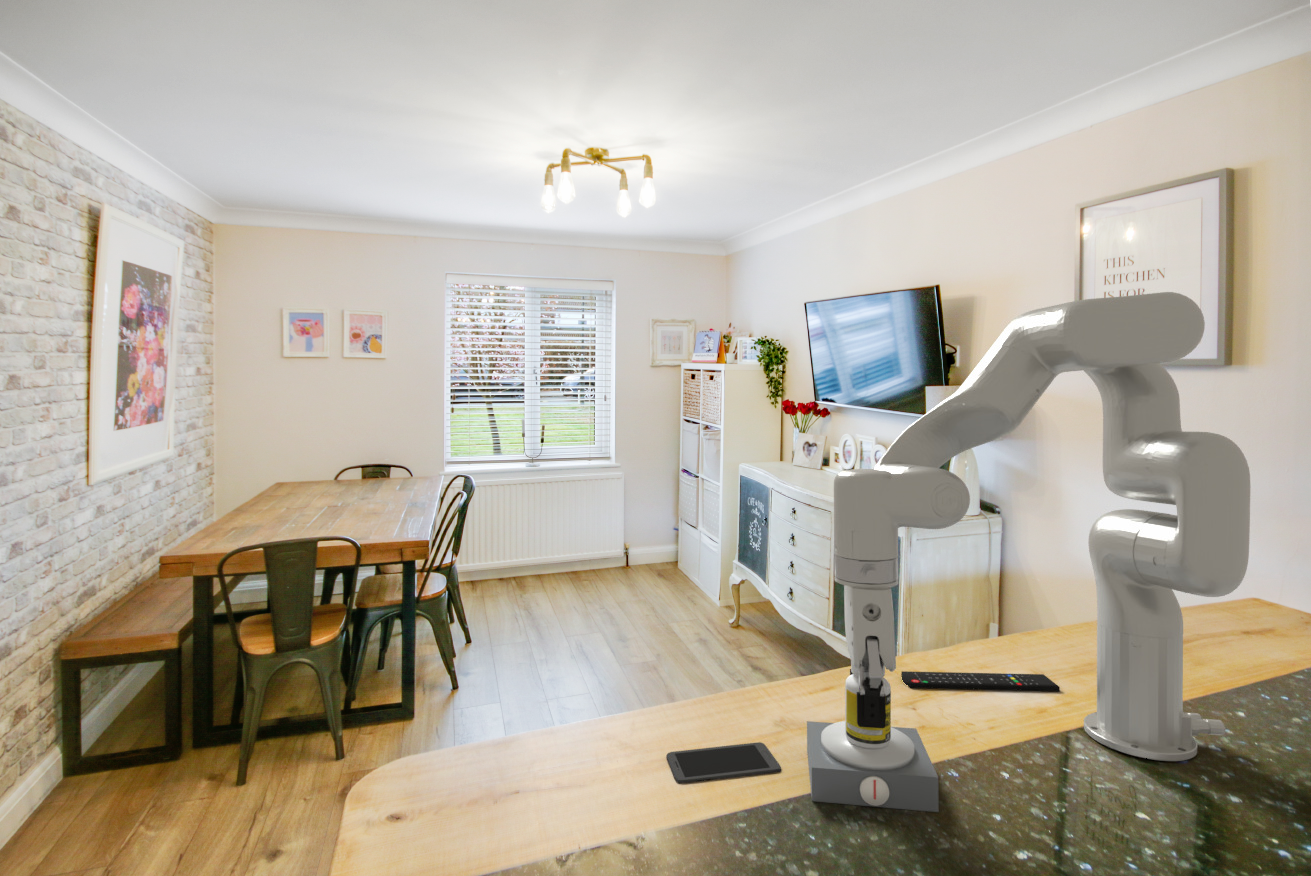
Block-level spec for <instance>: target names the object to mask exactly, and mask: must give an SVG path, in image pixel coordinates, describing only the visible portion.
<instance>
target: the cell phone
mask: <svg viewBox="0 0 1311 876" xmlns="http://www.w3.org/2000/svg"><path fill="white" fill-rule="evenodd" d="M666 761H667V763H668V766H669V769H670V772H671V774H672V776H673V779H674V780H675V782H676V783H678V784H691V783H699V782H700V783H701V782H706V781H707V782H708V781H717V780H725V779H733V778H743V777H751V776H759V775H760V776H761V775H767V774H769V775H770V774H774V773H780V772H781V770H782V767H781V764H780V763H779V762H778V761H777V759H776V758H775V756H774V755H773V754H772V753H771V751H770V750H769V748H768V747H767V746H766V744H765V743H763V742H761V741H759V742H750V743H749V742H747V743H739V744H731V745H730V744H729V745H721V746H714V747H703V748H695V749H686V750H685V749H684V750H677V751H670V752H668V753H667V754H666Z"/></svg>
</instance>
